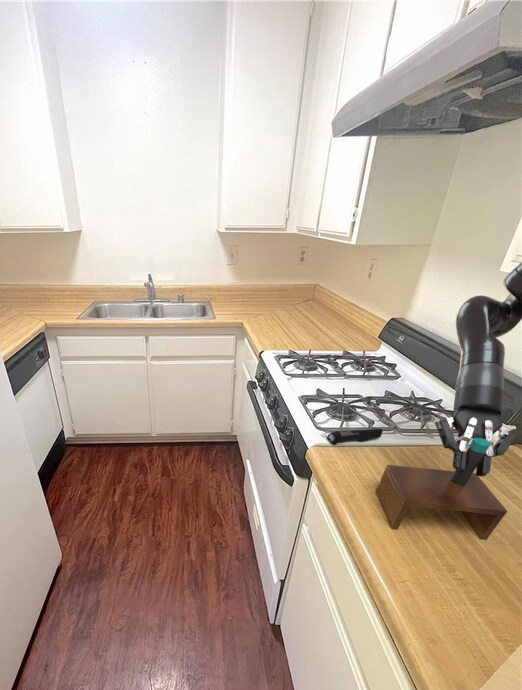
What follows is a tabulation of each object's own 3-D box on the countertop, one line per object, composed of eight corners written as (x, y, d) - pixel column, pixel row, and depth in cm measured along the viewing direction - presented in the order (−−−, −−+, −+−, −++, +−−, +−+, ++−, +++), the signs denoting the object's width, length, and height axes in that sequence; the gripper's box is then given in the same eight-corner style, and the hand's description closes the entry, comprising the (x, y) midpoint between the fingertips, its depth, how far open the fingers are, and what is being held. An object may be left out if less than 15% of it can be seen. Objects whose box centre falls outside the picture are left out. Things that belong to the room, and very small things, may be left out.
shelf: (459, 500, 77) (475, 473, 73) (486, 539, 68) (507, 511, 64) (375, 491, 79) (386, 464, 75) (391, 529, 70) (405, 500, 66)
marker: (462, 477, 71) (485, 438, 66) (468, 486, 69) (493, 446, 64) (448, 476, 72) (470, 436, 66) (454, 485, 69) (478, 444, 64)
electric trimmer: (383, 441, 96) (386, 432, 95) (332, 445, 94) (335, 436, 92) (374, 434, 100) (378, 425, 98) (325, 438, 97) (328, 428, 95)
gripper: (448, 378, 68) (439, 463, 65) (533, 389, 64) (527, 480, 61) (431, 391, 75) (422, 468, 72) (506, 401, 72) (500, 483, 69)
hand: (470, 473), depth 67 cm, fingers open, 3 cm apart
